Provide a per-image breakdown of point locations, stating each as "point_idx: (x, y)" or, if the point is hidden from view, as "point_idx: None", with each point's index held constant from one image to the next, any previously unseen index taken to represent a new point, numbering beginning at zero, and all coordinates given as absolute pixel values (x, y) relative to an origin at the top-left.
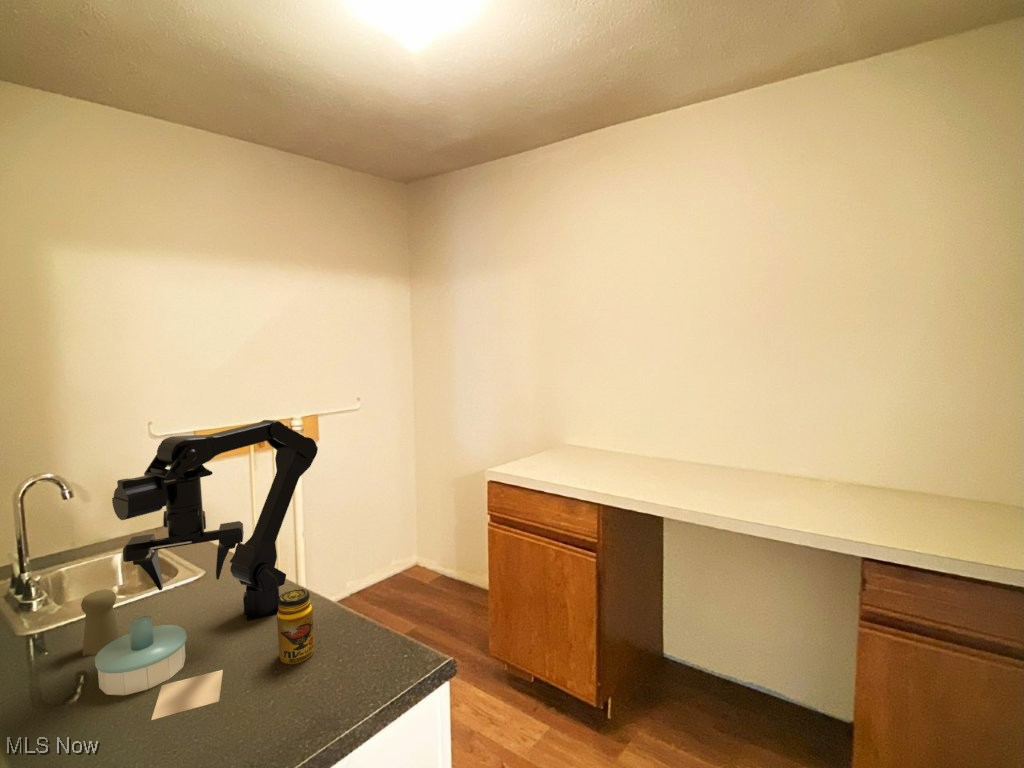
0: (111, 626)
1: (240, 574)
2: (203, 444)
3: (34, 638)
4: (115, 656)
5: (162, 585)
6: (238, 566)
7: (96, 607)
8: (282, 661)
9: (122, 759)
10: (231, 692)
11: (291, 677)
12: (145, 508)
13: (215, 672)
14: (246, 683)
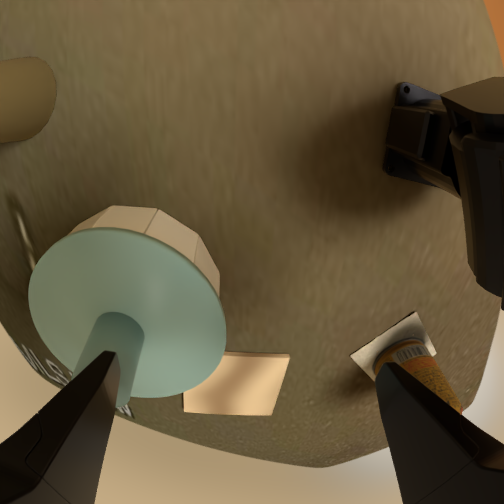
0: (3, 126)
1: (475, 229)
2: None
3: None
4: (75, 346)
5: (113, 367)
6: (500, 216)
7: None
8: (375, 373)
9: (166, 434)
10: (290, 398)
11: (368, 395)
12: None
13: (276, 360)
14: (314, 389)
